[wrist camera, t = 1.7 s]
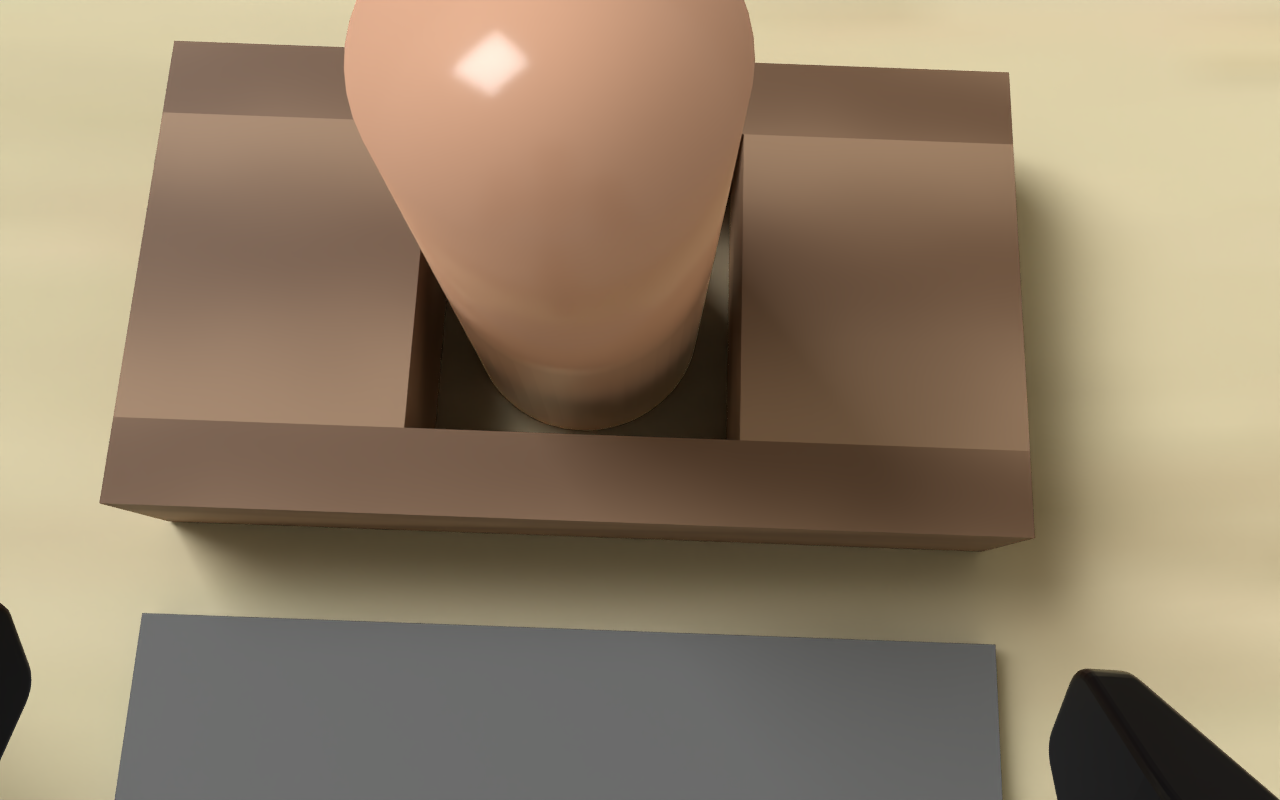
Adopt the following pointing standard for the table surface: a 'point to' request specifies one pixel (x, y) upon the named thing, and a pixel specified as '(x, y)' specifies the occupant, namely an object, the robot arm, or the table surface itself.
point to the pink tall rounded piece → (561, 179)
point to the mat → (550, 714)
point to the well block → (578, 463)
